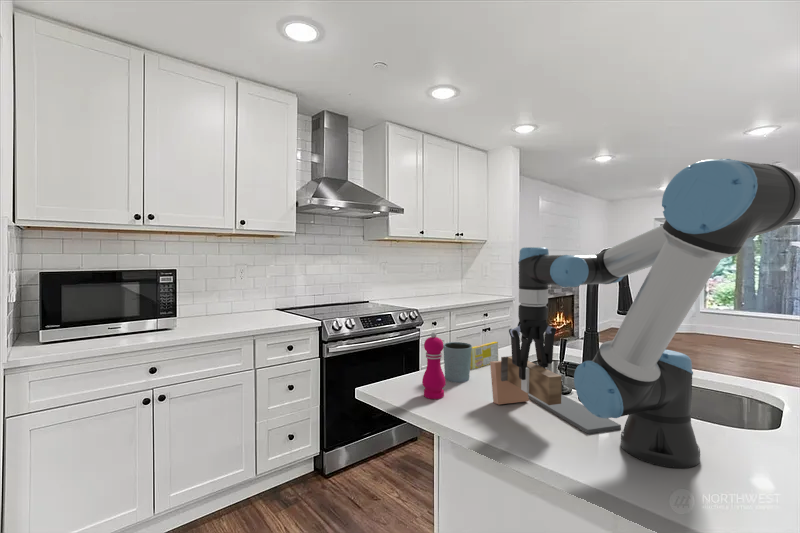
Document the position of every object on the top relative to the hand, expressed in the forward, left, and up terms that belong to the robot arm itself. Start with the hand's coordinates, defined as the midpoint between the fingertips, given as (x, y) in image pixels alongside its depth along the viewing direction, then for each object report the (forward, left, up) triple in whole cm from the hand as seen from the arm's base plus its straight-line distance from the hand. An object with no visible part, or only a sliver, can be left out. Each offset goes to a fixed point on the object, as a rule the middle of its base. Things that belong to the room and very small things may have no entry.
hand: (531, 390), depth 114 cm
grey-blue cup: (+37, +6, -7) cm, 38 cm away
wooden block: (0, 0, 0) cm, 0 cm away
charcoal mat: (+1, -12, -7) cm, 14 cm away
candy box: (+50, -11, -8) cm, 52 cm away
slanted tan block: (+11, 0, -7) cm, 13 cm away
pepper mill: (+23, +20, -7) cm, 31 cm away
